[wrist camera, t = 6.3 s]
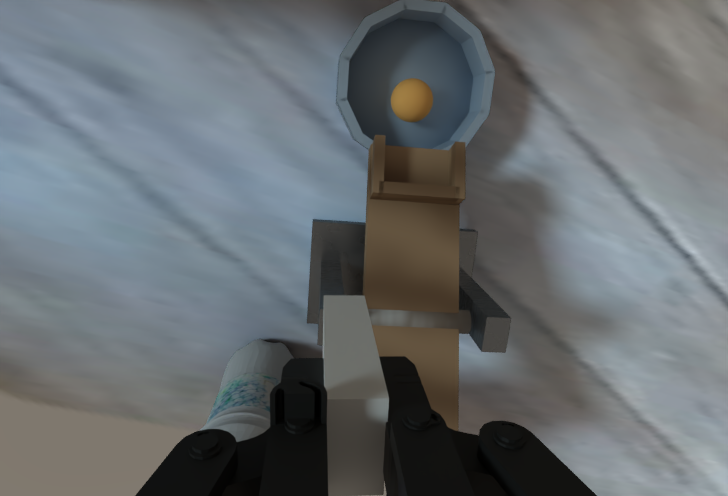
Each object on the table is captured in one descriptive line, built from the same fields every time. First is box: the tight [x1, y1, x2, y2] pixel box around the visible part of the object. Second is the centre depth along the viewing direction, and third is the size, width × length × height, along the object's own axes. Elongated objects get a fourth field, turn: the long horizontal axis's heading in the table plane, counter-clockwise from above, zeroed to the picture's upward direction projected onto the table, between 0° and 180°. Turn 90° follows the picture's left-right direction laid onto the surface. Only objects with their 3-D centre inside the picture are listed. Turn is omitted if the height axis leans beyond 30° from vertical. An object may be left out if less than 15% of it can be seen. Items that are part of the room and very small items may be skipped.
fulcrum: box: [307, 219, 511, 353], centre depth 35 cm, size 9×14×12 cm, turn 85°
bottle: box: [200, 339, 294, 442], centre depth 33 cm, size 7×7×20 cm
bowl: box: [336, 0, 495, 150], centre depth 36 cm, size 11×11×4 cm
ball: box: [391, 78, 433, 122], centre depth 36 cm, size 3×3×3 cm
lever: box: [363, 135, 471, 431], centre depth 34 cm, size 22×8×8 cm, turn 176°
